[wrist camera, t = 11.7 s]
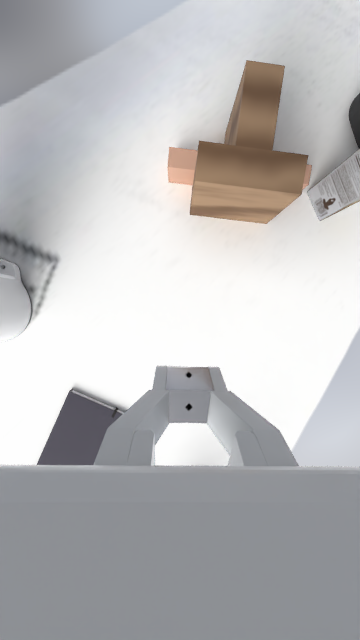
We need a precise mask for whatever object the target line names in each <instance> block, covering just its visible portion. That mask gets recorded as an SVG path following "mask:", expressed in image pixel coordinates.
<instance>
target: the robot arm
mask: <svg viewBox="0 0 360 640" xmlns="http://www.w3.org/2000/svg"><path fill="white" fill-rule="evenodd" d="M4 266H5V268H4ZM30 316H31V303H30V299H29V296H28V293H27V291H26V289H25V288H24V286H23V284H22V282H21V276H20V270H19V268H18V266H17V265H16V264H14V263H12V262H9V261H6V260H3V259H0V342H4V341H8V340H11V339H13V338H15V337H17V336H18V335H20V334H21V333H22V332H23V331H24V329H25V328H26V326H27V325H28V322H29V320H30ZM185 422H188V423H207V425H208V426H209V428H210V429H211V430H212V432H213V433H214V435H215V436H216V437H217V439H218V440H219V441H220V443H221V444H222V446H223V447H224V448H225V450H226V451H227V452H228V454H229V455H230V459H229V463H228V466H155V444H156V443H157V441H158V440H159V438H160V437H161V435H162V434H163V432H164V430H165V429H166V427H167V426H168V424H169V423H185ZM0 640H360V467H334V466H329V467H328V466H325V467H323V466H299V465H298V463H297V462H296V460H295V458H294V456H293V454H292V452H291V451H290V449H289V447H288V445H287V443H286V442H285V440H284V438H283V436H282V434H281V432H280V431H279V430H278V429H277V428H276V427H275V426H273V425H272V424H271V423H270V422H268V421H267V420H266V419H265V418H263V417H262V416H261V415H260V414H258V413H257V412H256V411H255V410H253V409H252V408H251V407H250V406H248V405H247V404H246V403H245V402H243V401H242V400H241V399H240V398H238V397H237V396H236V395H235V394H233V393H232V392H231V391H227V388H226V385H225V382H224V380H223V377H222V374H221V371H220V368H219V367H181V366H168V367H167V366H157V367H156V372H155V378H154V384H153V389H152V390H149V391H148V392H146V393H145V394H144V395H143V396H142V397H141V398H140V399H139V400H138V401H137V402H136V403H134V404H133V405H132V406H131V407H130V408H129V409H128V410H127V411H126V412H125V413H124V414H122V415H121V416H120V417H119V418H118V419H117V420H116V421H115V422H114V423H113V424H111V425H110V426H109V427H108V428H107V431H106V433H105V436H104V439H103V441H102V444H101V446H100V449H99V452H98V454H97V457H96V459H95V462H94V465H0Z"/></svg>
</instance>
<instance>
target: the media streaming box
mask: <svg viewBox="0 0 360 640" xmlns="http://www.w3.org/2000/svg"><path fill="white" fill-rule="evenodd" d="M349 120H350V123H351V127H352V130H353V133H354V136H355V139H356V142H357V144H358V147H359V149H360V94H359V95H358V96H357V97H356V98H355V99H354V101H353V102H352V104H351V107H350V111H349Z"/></svg>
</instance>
